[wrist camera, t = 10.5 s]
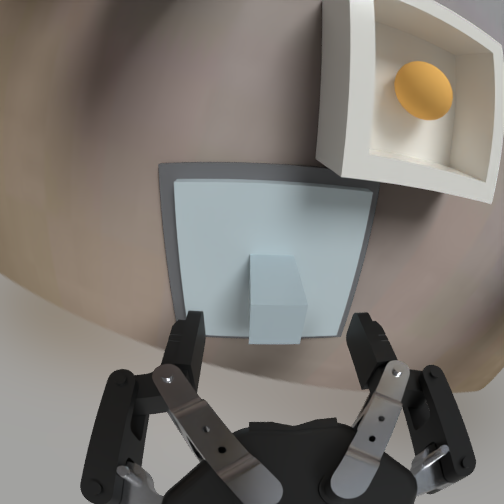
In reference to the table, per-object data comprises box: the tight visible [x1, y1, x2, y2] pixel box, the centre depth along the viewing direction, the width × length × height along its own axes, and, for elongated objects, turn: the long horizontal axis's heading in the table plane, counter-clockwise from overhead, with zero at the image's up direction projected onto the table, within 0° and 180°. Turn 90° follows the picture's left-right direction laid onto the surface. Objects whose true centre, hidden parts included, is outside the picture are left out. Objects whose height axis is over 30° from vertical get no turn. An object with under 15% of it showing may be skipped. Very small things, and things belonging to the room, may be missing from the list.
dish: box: [315, 0, 504, 204], centre depth 11 cm, size 11×11×5 cm
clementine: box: [394, 61, 453, 120], centre depth 11 cm, size 4×4×4 cm
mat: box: [158, 162, 380, 338], centre depth 19 cm, size 14×14×1 cm
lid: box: [174, 179, 373, 344], centre depth 16 cm, size 12×12×6 cm
